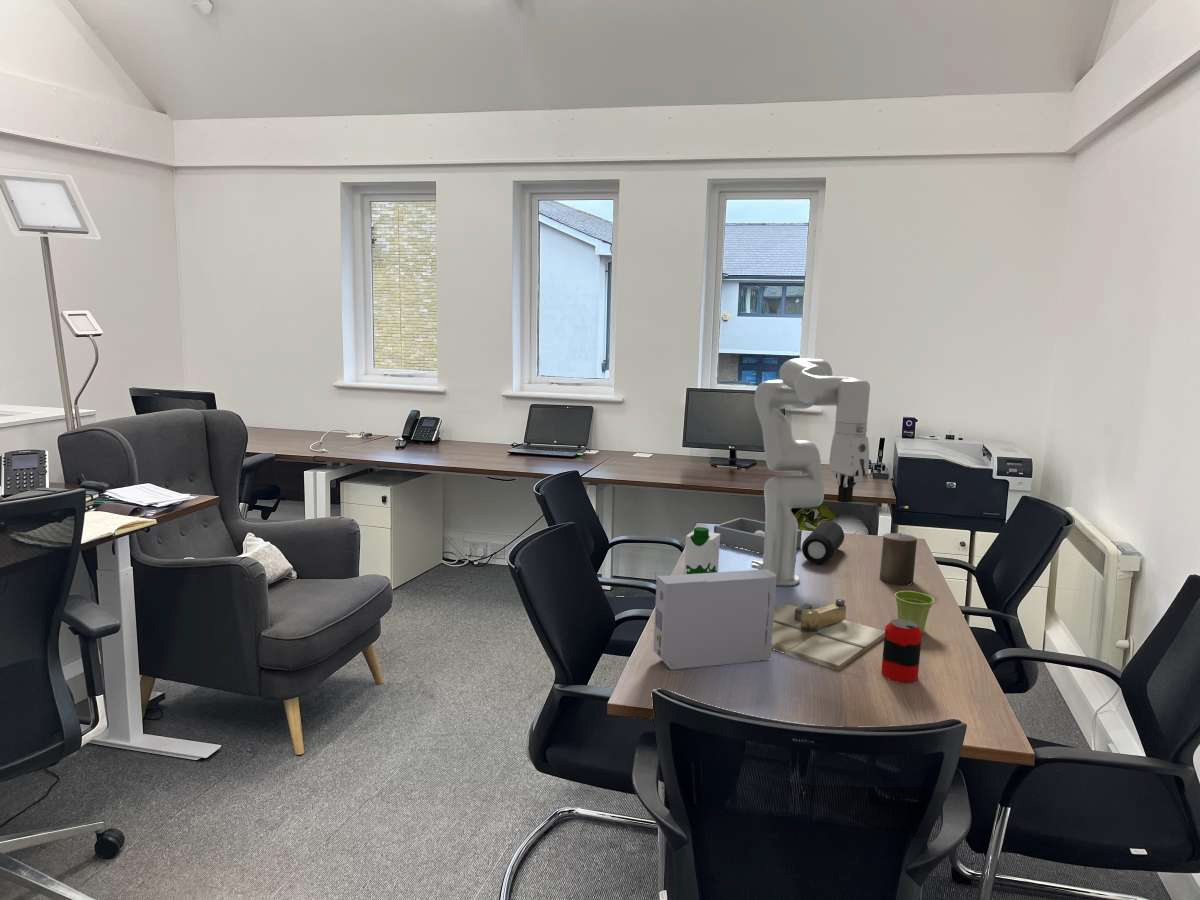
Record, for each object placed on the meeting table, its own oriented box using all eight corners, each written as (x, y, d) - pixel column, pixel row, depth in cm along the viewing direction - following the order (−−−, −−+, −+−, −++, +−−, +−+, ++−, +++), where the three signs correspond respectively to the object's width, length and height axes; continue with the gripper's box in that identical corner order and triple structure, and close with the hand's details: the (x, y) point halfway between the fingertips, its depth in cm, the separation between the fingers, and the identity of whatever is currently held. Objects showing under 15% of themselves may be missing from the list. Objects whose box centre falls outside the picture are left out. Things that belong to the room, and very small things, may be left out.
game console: (774, 660, 186) (779, 576, 182) (662, 671, 178) (666, 584, 175) (762, 650, 191) (767, 568, 188) (652, 661, 183) (656, 575, 180)
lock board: (729, 636, 199) (730, 620, 198) (783, 607, 220) (784, 593, 220) (838, 670, 181) (839, 653, 181) (886, 635, 203) (887, 620, 202)
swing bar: (810, 632, 198) (812, 613, 197) (797, 627, 201) (798, 608, 200) (848, 620, 207) (849, 602, 206) (834, 615, 210) (836, 597, 209)
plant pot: (929, 626, 210) (933, 593, 209) (932, 639, 202) (935, 605, 200) (891, 620, 213) (894, 588, 212) (891, 633, 204) (895, 600, 203)
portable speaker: (815, 545, 284) (817, 517, 283) (844, 549, 280) (846, 521, 279) (799, 564, 262) (801, 533, 260) (830, 569, 257) (833, 538, 256)
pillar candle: (913, 587, 241) (918, 538, 239) (879, 582, 244) (883, 534, 242) (912, 578, 251) (917, 530, 248) (878, 574, 254) (883, 527, 251)
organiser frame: (713, 542, 283) (714, 526, 282) (739, 533, 297) (740, 517, 296) (775, 557, 268) (776, 539, 267) (800, 546, 282) (801, 529, 281)
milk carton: (679, 599, 224) (683, 528, 221) (690, 589, 233) (693, 521, 229) (710, 604, 221) (714, 533, 218) (720, 595, 229) (724, 525, 226)
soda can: (898, 685, 175) (903, 632, 173) (873, 671, 182) (878, 619, 180) (925, 680, 178) (930, 627, 176) (899, 666, 185) (904, 615, 183)
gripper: (883, 433, 197) (877, 507, 199) (843, 425, 210) (837, 494, 213) (858, 434, 194) (852, 509, 197) (819, 425, 207) (814, 496, 210)
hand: (844, 501), depth 205 cm, fingers closed
